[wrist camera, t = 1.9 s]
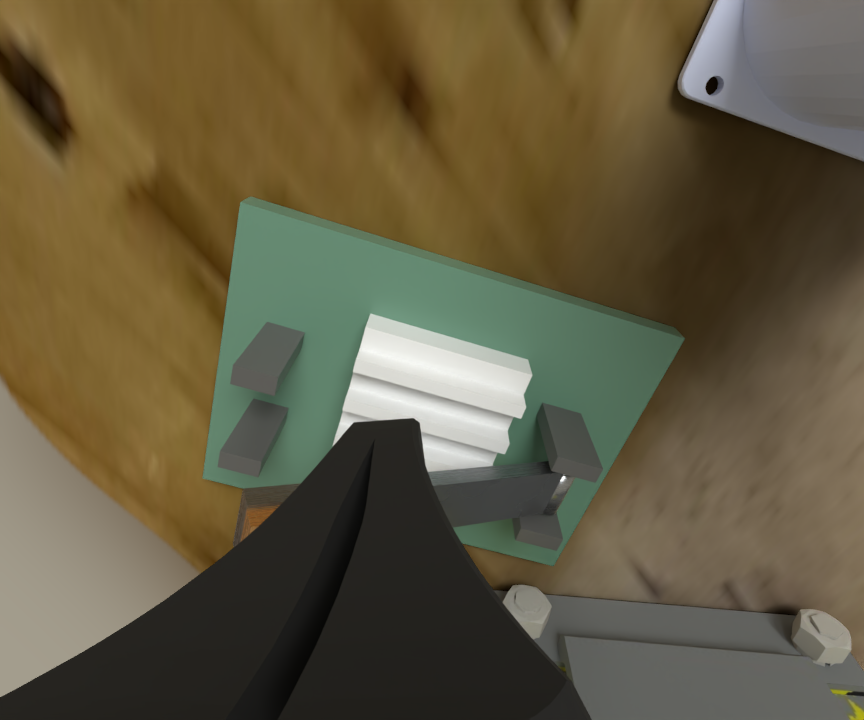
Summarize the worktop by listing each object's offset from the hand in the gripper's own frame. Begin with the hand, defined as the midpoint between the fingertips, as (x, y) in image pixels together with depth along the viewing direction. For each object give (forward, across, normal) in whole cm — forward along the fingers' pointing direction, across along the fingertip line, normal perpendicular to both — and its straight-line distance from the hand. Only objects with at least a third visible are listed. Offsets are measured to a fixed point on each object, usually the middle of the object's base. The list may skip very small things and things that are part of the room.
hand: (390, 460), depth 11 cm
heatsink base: (+10, 0, +5) cm, 11 cm away
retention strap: (+5, 0, +5) cm, 7 cm away
